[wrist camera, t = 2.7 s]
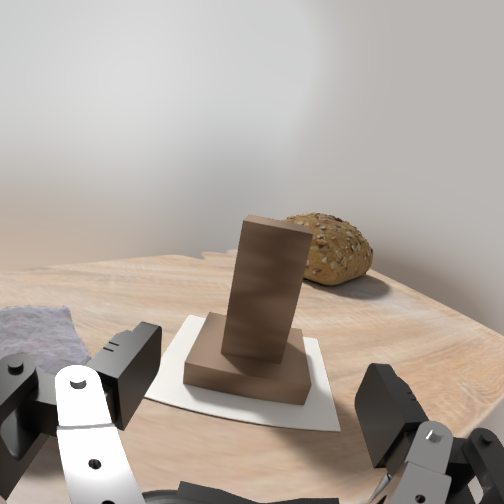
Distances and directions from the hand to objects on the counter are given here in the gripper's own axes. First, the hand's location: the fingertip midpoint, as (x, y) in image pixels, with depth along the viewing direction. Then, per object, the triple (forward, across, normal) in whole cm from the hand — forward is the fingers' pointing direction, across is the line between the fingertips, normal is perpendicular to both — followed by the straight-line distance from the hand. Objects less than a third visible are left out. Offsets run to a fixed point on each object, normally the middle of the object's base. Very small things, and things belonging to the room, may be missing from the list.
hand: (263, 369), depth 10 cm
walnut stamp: (+12, 0, +8) cm, 15 cm away
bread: (+52, -11, +8) cm, 54 cm away
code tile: (+12, 0, +8) cm, 15 cm away
